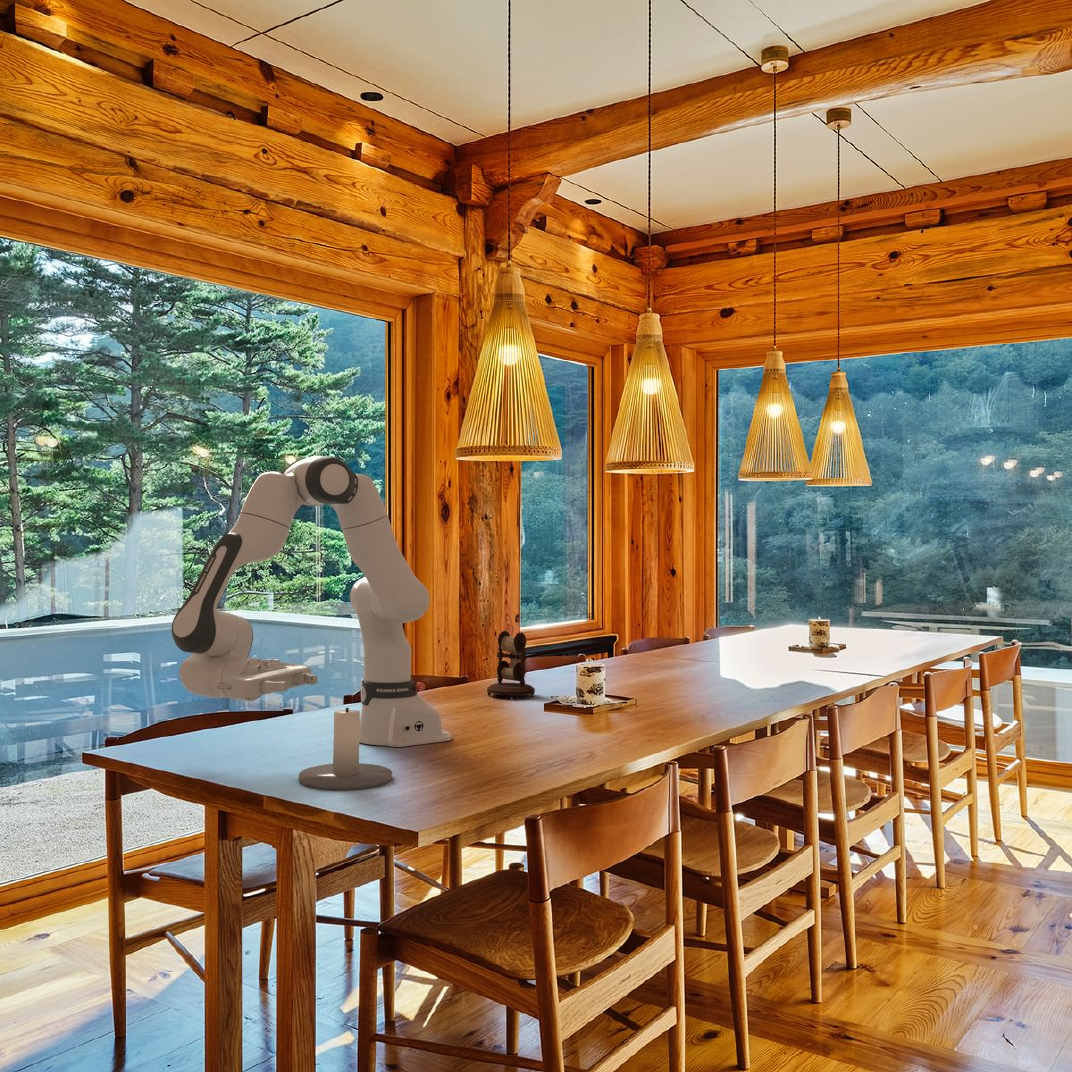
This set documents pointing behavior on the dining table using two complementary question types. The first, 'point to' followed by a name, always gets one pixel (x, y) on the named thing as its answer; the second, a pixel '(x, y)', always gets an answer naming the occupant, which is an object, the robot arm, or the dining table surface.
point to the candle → (346, 742)
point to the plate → (345, 778)
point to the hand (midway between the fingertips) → (300, 683)
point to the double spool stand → (517, 666)
